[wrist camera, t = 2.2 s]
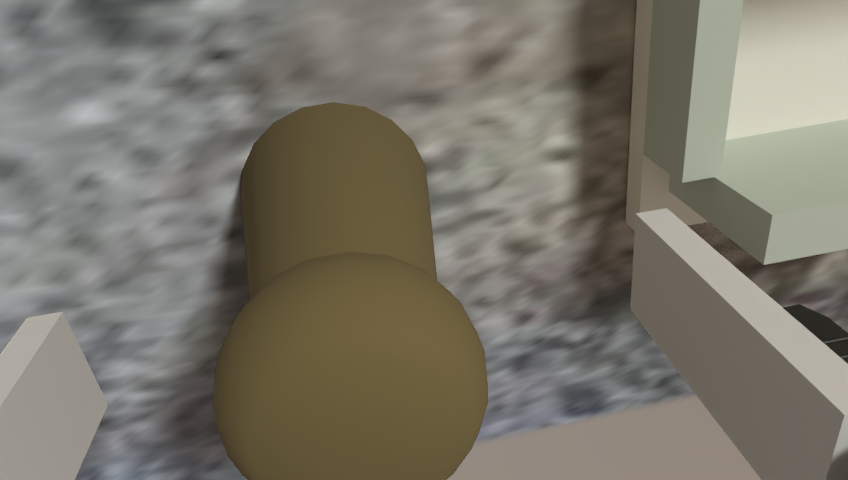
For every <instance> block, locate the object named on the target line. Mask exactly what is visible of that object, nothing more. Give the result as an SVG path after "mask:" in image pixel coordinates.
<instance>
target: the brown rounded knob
mask: <svg viewBox="0 0 848 480" xmlns="http://www.w3.org/2000/svg"><path fill="white" fill-rule="evenodd" d="M241 206H242V218H243V229H244V241H245V253H246V264H247V276H248V287H249V299H250V300H249V301H248V302H247V303H246V304H245V305H244V307H243V308H242V310H241V311H240V312H239V314H238V315H237V317H236V318H235V320H234V322H233V324H232V327H231V329H230V331H229V333H228V335H227V337H226V339H225V341H224V343H223V345H222V347H221V349H220V352H219V356H218V360H217V365H216V369H215V382H214V403H213V407H214V413H215V419H216V425H217V429H218V431H219V434H220V436H221V439H222V441H223V444H224V446H225V449H226V451H227V454H228V456H229V458H230V459H231V461H232V462H233V463H234V465H235V466H236V467H237V468H238V470H239V471H240V472H241V473H242V475H243V476H244V477H245V478H246V479H247V480H446V479H448V478H449V477H450V476H451V475H453V473H454V472H455V471H456V469H457V468H458V466H459V465H460V464H461V463H462V461H463V460H464V459H465V457H466V456H467V454H468V453H469V452H470V450H471V449H472V447H473V444H474V442H475V440H476V438H477V435H478V433H479V430H480V427H481V424H482V420H483V417H484V414H485V410H486V407H487V404H488V382H487V372H486V362H485V351H484V348H483V346H482V343H481V341H480V339H479V336H478V334H477V332H476V330H475V328H474V326H473V324H472V323H471V321H470V319H469V317H468V315H467V313H466V312H465V310H464V308H463V306H462V304H461V303H460V302H459V301H458V300H457V299H456V298H455V297H454V296H453V295H452V294H451V293H450V292H449V291H448V290H447V289H446V288H445V287H444V286H442V285H441V284H440V283H439V282H438V281H437V275H436V265H435V255H434V245H433V234H432V224H431V214H430V204H429V194H428V186H427V178H426V171H425V164H424V162H423V160H422V158H421V156H420V154H419V152H418V151H417V149H416V147H415V145H414V143H413V141H412V139H410V138H409V137H408V136H407V135H406V134H405V133H404V132H403V131H402V130H401V129H400V128H399V127H398V126H397V125H396V124H395V123H394V122H393V121H392V120H390V119H388V118H386V117H384V116H382V115H380V114H378V113H376V112H374V111H372V110H370V109H368V108H365V107H361V106H354V105H347V104H340V103H327V104H321V105H315V106H309V107H304V108H301V109H299V110H297V111H295V112H293V113H291V114H289V115H287V116H285V117H283V118H282V119H280V120H278V121H276V122H274V123H273V124H272V125H271V126H270V128H269V129H268V130H267V131H266V132H265V133H264V134H263V135H262V136H261V137H260V138H259V139H258V140H257V141H256V142H255V143H254V145H253V147H252V150H251V152H250V154H249V156H248V159H247V161H246V163H245V165H244V168H243V170H242V186H241Z"/></svg>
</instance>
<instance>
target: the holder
mask: <svg viewBox="0 0 848 480" xmlns="http://www.w3.org/2000/svg"><path fill="white" fill-rule="evenodd" d="M665 208H667V209H668V210H670V211H671V212H672V213H673V214H674V215H675V216H677V217H678V218H679V219H680V220H681V221H682V222H684V223H685V224H686V225H687V226H689V225H694V224H700V223H705V222H709V223H710V224H712V225H713V226H714V227H715V228H717V229H718V230H719V231H721V232H722V233H723V234H724V235H726V236H727V237H728V238H730V239H731V240H732V241H733V242H735V243H736V244H737V245H739V246H740V247H741V248H742V249H744V250H745V251H746V252H747V253H749V254H750V255H751V256H753V257H754V258H755V259H756V260H758V261H759V262H760V263H762V264H763V265H767V264H772V263H777V262H782V261H787V260H792V259H798V258H803V257H808V256H813V255H818V254H823V253H829V252H834V251H839V250H844V249H848V0H637V6H636V26H635V45H634V65H633V84H632V104H631V124H630V143H629V163H628V183H627V202H626V223H627V224H628V225H629V226H630V227H631V228H632V229H633V230H634V231H635V216H636V213H641V212H647V211H653V210H659V209H665Z"/></svg>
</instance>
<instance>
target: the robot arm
mask: <svg viewBox="0 0 848 480" xmlns="http://www.w3.org/2000/svg"><path fill="white" fill-rule="evenodd" d="M630 310H631V311H632V312H633V314H634V315H635V316H636V317H637V319H638V320H639V321H640V323H641V324H642V325H643V327H644V328H645V329H646V330H647V332H648V333H649V334H650V336H651V337H652V338H653V340H654V341H655V342H656V343H657V345H658V346H659V347H660V349H661V350H662V351H663V352H664V354H665V355H666V356H667V358H668V359H669V360H670V362H671V363H672V364H673V365H674V367H675V368H676V369H677V371H678V372H679V373H680V375H681V376H682V377H683V378H684V380H685V381H686V382H687V384H688V385H689V386H690V388H691V389H692V390H693V391H694V393H695V394H696V395H697V397H698V398H699V399H700V400H701V402H702V403H703V404H704V406H705V407H706V408H707V410H708V411H709V412H710V413H711V415H712V416H713V417H714V419H715V420H716V421H717V423H718V424H719V425H720V426H721V428H722V429H723V430H724V432H725V433H726V434H727V435H728V437H729V438H730V439H731V441H732V442H733V443H734V444H735V446H736V447H737V448H738V450H739V451H740V452H741V454H742V455H743V456H744V457H745V459H746V460H747V461H748V462H749V464H750V465H751V467H752V468H753V469H754V470H755V472H756V473H757V474H758V476H759V477H760V478H761V479H762V480H848V333H847V332H846V331H844V330H843V329H842V328H841V327H840V326H838V325H837V324H836V323H835V322H833V321H832V320H831V319H830V318H828V317H826V316H824V315H821V314H819V313H817V312H815V311H813V310H811V309H808V308H806V307H804V306H802V305H794V306H789V307H784V308H782V307H781V306H780V305H779V304H778V303H776V302H775V301H774V300H773V299H772V298H771V297H770V296H768V295H767V294H766V293H765V292H764V291H763V290H761V289H760V288H759V287H758V286H757V285H756V284H754V283H753V282H752V281H751V280H750V279H749V278H747V277H746V276H745V275H744V274H743V273H742V272H740V271H739V270H738V269H737V268H736V267H735V266H734V265H732V264H731V263H730V262H729V261H728V260H727V259H725V258H724V257H723V256H722V255H721V254H720V253H718V252H717V251H716V250H715V249H714V248H713V247H711V246H710V245H709V244H708V243H707V242H706V241H704V240H703V239H702V238H701V237H700V236H699V235H698V234H696V233H695V232H694V231H693V230H692V229H691V228H689V227H688V226H687V225H686V224H685V223H684V222H682V221H681V220H680V219H679V218H678V217H677V216H675V215H674V214H673V213H672V212H671V211H670V210H668V209H667V208H665V209H659V210H653V211H647V212H641V213H636V216H635V234H634V251H633V269H632V287H631V305H630ZM107 406H108V403H107V401H106V399H105V397H104V395H103V393H102V391H101V389H100V387H99V385H98V383H97V381H96V379H95V377H94V375H93V373H92V371H91V368H90V366H89V364H88V362H87V360H86V358H85V356H84V354H83V352H82V350H81V348H80V346H79V344H78V342H77V340H76V338H75V336H74V334H73V331H72V329H71V327H70V325H69V323H68V321H67V319H66V317H65V315H64V313H63V312H58V313H52V314H46V315H41V316H35V317H29V318H27V319H26V320H25V321H24V323H23V324H22V325H21V327H20V328H19V329H18V331H17V332H16V333H15V335H14V336H13V338H12V339H11V340H10V342H9V343H8V344H7V346H6V347H5V348H4V350H3V351H2V352H1V354H0V480H75V478H76V476H77V474H78V471H79V469H80V467H81V465H82V462H83V460H84V458H85V456H86V453H87V451H88V449H89V447H90V444H91V442H92V440H93V438H94V435H95V433H96V431H97V429H98V426H99V424H100V422H101V420H102V417H103V415H104V413H105V411H106V408H107Z"/></svg>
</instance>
